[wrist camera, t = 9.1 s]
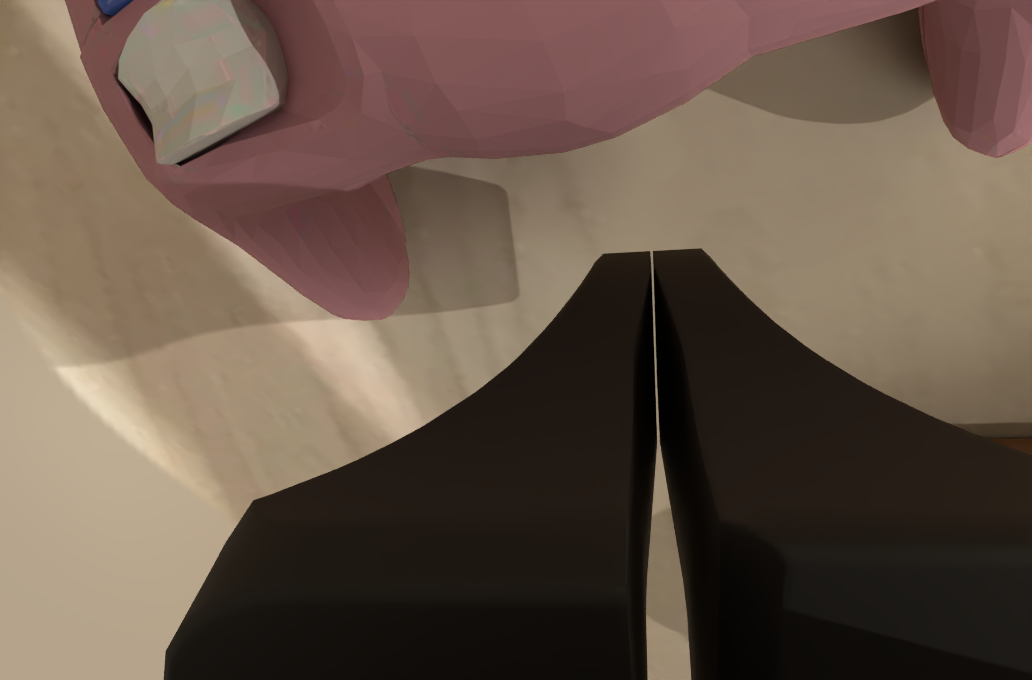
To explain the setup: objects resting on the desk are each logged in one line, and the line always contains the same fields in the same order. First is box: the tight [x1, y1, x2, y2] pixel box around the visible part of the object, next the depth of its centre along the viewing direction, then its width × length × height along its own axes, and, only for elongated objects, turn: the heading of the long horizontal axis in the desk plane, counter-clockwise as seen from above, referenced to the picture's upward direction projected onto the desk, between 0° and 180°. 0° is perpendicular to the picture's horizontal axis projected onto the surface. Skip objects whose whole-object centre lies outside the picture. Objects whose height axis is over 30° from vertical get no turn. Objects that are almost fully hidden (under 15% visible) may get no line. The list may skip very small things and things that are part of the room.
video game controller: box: [65, 0, 1032, 321], centre depth 8 cm, size 10×5×7 cm, turn 109°
